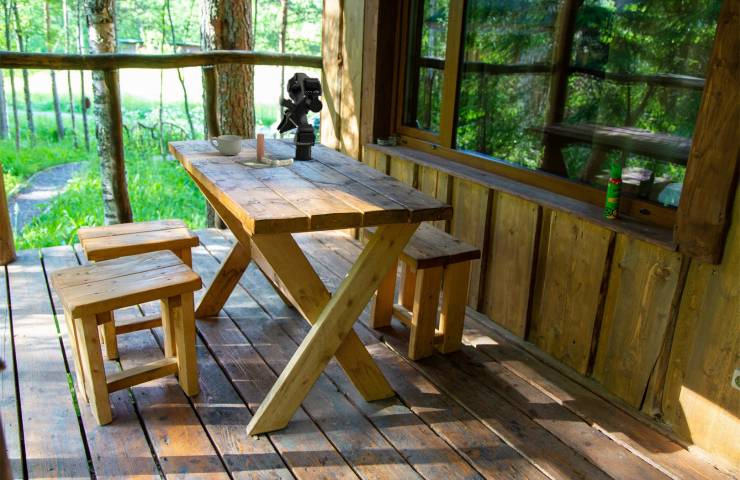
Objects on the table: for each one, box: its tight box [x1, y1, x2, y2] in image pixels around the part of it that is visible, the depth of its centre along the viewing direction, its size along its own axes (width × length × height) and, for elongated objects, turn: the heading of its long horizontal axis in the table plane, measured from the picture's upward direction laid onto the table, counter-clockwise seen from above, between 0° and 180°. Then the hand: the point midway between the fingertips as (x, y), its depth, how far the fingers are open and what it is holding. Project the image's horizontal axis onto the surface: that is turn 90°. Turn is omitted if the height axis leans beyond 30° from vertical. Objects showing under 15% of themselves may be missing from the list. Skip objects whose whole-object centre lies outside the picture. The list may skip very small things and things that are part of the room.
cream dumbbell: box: [274, 158, 294, 168], centre depth 253 cm, size 9×2×2 cm, turn 135°
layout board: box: [234, 157, 291, 170], centre depth 255 cm, size 19×17×1 cm
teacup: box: [209, 134, 243, 156], centre depth 268 cm, size 14×11×8 cm
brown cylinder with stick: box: [256, 133, 275, 165], centre depth 251 cm, size 12×3×11 cm, turn 40°
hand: (278, 131), depth 254 cm, fingers open, 9 cm apart
